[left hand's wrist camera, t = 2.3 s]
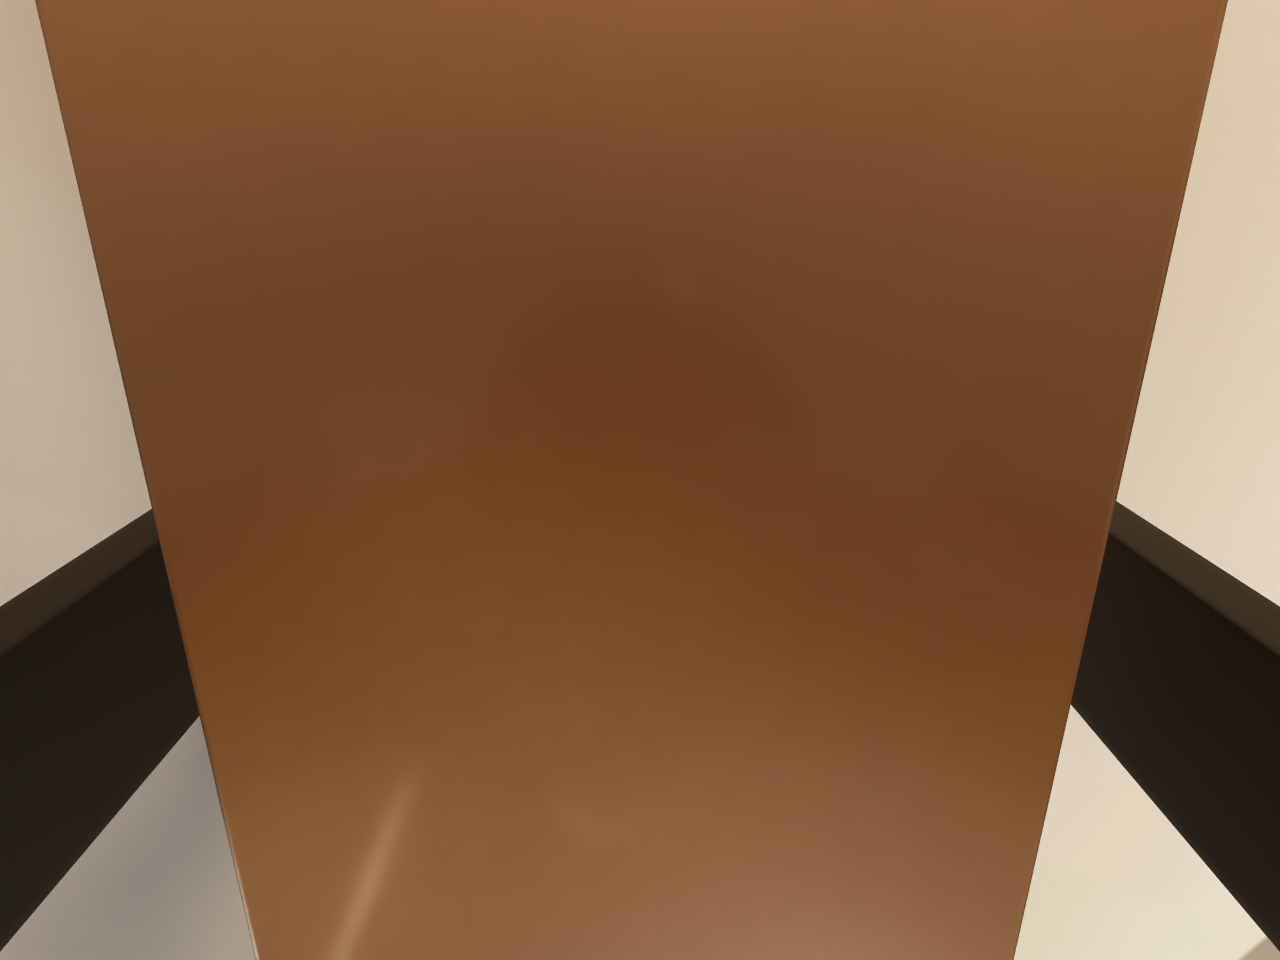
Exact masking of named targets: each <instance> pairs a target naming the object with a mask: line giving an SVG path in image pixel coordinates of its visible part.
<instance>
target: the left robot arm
mask: <svg viewBox="0 0 1280 960" xmlns="http://www.w3.org/2000/svg"><path fill="white" fill-rule="evenodd" d="M1071 705H1072V706H1073V707H1074V708H1075V710H1076V711H1077V712H1078V713H1079V714H1080V716H1081V717H1082V718H1083V719H1084V720H1085V721H1086V723H1087V724H1088V725H1089V726H1090V727H1091V729H1092V730H1093V731H1094V732H1095V733H1096V735H1097V736H1098V737H1099V738H1100V739H1101V740H1102V742H1103V743H1104V744H1105V745H1106V746H1107V748H1108V749H1109V750H1110V751H1111V752H1112V753H1113V755H1114V756H1115V757H1116V758H1117V759H1118V761H1119V762H1120V763H1121V764H1122V765H1123V766H1124V768H1125V769H1126V770H1127V771H1128V772H1129V774H1130V775H1131V776H1132V777H1133V778H1134V779H1135V781H1136V782H1137V783H1138V784H1139V785H1140V787H1141V788H1142V789H1143V790H1144V791H1145V793H1146V794H1147V795H1148V796H1149V797H1150V798H1151V800H1152V801H1153V802H1154V803H1155V804H1156V806H1157V807H1158V808H1159V809H1160V810H1161V811H1162V813H1163V814H1164V815H1165V816H1166V817H1167V819H1168V820H1169V821H1170V822H1171V823H1172V824H1173V826H1174V827H1175V828H1176V829H1177V830H1178V832H1179V833H1180V834H1181V835H1182V836H1183V837H1184V839H1185V840H1186V841H1187V842H1188V843H1189V845H1190V846H1191V847H1192V848H1193V849H1194V851H1195V852H1196V853H1197V854H1198V855H1199V856H1200V858H1201V859H1202V860H1203V861H1204V862H1205V864H1206V865H1207V866H1208V867H1209V868H1210V869H1211V871H1212V872H1213V873H1214V874H1215V875H1216V877H1217V878H1218V879H1219V880H1220V881H1221V882H1222V884H1223V885H1224V886H1225V887H1226V888H1227V890H1228V891H1229V892H1230V893H1231V894H1232V896H1233V897H1234V898H1235V899H1236V900H1237V901H1238V903H1239V904H1240V905H1241V906H1242V907H1243V909H1244V910H1245V911H1246V912H1247V913H1248V914H1249V916H1250V917H1251V918H1252V919H1253V920H1254V922H1255V923H1256V924H1257V925H1258V926H1259V927H1260V929H1261V930H1262V931H1263V932H1264V933H1265V935H1266V936H1267V937H1268V938H1269V939H1270V940H1271V942H1272V943H1273V944H1274V945H1275V946H1276V948H1277V949H1278V950H1279V951H1280V607H1279V606H1278V605H1276V604H1275V603H1273V602H1272V601H1270V600H1269V599H1267V598H1265V597H1264V596H1262V595H1261V594H1259V593H1258V592H1256V591H1255V590H1253V589H1251V588H1250V587H1248V586H1247V585H1245V584H1244V583H1242V582H1241V581H1239V580H1238V579H1236V578H1234V577H1233V576H1231V575H1230V574H1228V573H1227V572H1225V571H1224V570H1222V569H1220V568H1219V567H1217V566H1216V565H1214V564H1213V563H1211V562H1210V561H1208V560H1207V559H1205V558H1203V557H1202V556H1200V555H1199V554H1197V553H1196V552H1194V551H1193V550H1191V549H1189V548H1188V547H1186V546H1185V545H1183V544H1182V543H1180V542H1179V541H1177V540H1176V539H1174V538H1172V537H1171V536H1169V535H1168V534H1166V533H1165V532H1163V531H1162V530H1160V529H1158V528H1157V527H1155V526H1154V525H1152V524H1151V523H1149V522H1148V521H1146V520H1145V519H1143V518H1141V517H1140V516H1138V515H1137V514H1135V513H1134V512H1132V511H1131V510H1129V509H1127V508H1126V507H1124V506H1123V505H1121V504H1120V503H1118V502H1117V501H1116V503H1115V508H1114V512H1113V516H1112V521H1111V525H1110V530H1109V534H1108V539H1107V543H1106V548H1105V552H1104V557H1103V561H1102V566H1101V570H1100V575H1099V579H1098V584H1097V588H1096V592H1095V597H1094V601H1093V606H1092V610H1091V615H1090V619H1089V624H1088V628H1087V633H1086V637H1085V642H1084V646H1083V651H1082V655H1081V660H1080V664H1079V669H1078V673H1077V677H1076V682H1075V686H1074V691H1073V695H1072V700H1071ZM199 716H200V714H199V710H198V705H197V701H196V697H195V692H194V688H193V684H192V679H191V675H190V671H189V666H188V662H187V658H186V653H185V649H184V645H183V640H182V636H181V632H180V627H179V623H178V619H177V614H176V610H175V606H174V601H173V597H172V592H171V588H170V584H169V579H168V575H167V571H166V566H165V562H164V558H163V553H162V549H161V545H160V540H159V536H158V532H157V527H156V523H155V519H154V514H153V510H152V509H151V510H149V511H148V512H146V513H145V514H143V515H142V516H140V517H139V518H137V519H135V520H134V521H132V522H131V523H129V524H128V525H126V526H125V527H123V528H121V529H120V530H118V531H117V532H115V533H114V534H112V535H111V536H109V537H108V538H106V539H104V540H103V541H101V542H100V543H98V544H97V545H95V546H94V547H92V548H90V549H89V550H87V551H86V552H84V553H83V554H81V555H80V556H78V557H77V558H75V559H73V560H72V561H70V562H69V563H67V564H66V565H64V566H63V567H61V568H59V569H58V570H56V571H55V572H53V573H52V574H50V575H49V576H47V577H46V578H44V579H42V580H41V581H39V582H38V583H36V584H35V585H33V586H32V587H30V588H28V589H27V590H25V591H24V592H22V593H21V594H19V595H18V596H16V597H15V598H13V599H11V600H10V601H8V602H7V603H5V604H4V605H2V606H1V607H0V951H1V950H2V949H3V948H4V946H5V945H6V944H7V943H8V942H9V940H10V939H11V938H12V937H13V936H14V935H15V933H16V932H17V931H18V930H19V929H20V927H21V926H22V925H23V924H24V923H25V922H26V920H27V919H28V918H29V917H30V916H31V914H32V913H33V912H34V911H35V910H36V908H37V907H38V906H39V905H40V904H41V903H42V901H43V900H44V899H45V898H46V897H47V895H48V894H49V893H50V892H51V891H52V890H53V888H54V887H55V886H56V885H57V884H58V882H59V881H60V880H61V879H62V878H63V877H64V875H65V874H66V873H67V872H68V871H69V869H70V868H71V867H72V866H73V865H74V864H75V862H76V861H77V860H78V859H79V858H80V856H81V855H82V854H83V853H84V852H85V850H86V849H87V848H88V847H89V846H90V845H91V843H92V842H93V841H94V840H95V839H96V837H97V836H98V835H99V834H100V833H101V832H102V830H103V829H104V828H105V827H106V826H107V824H108V823H109V822H110V821H111V820H112V819H113V817H114V816H115V815H116V814H117V813H118V811H119V810H120V809H121V808H122V807H123V805H124V804H125V803H126V802H127V801H128V800H129V798H130V797H131V796H132V795H133V794H134V792H135V791H136V790H137V789H138V788H139V787H140V785H141V784H142V783H143V782H144V781H145V779H146V778H147V777H148V776H149V775H150V774H151V772H152V771H153V770H154V769H155V768H156V766H157V765H158V764H159V763H160V762H161V761H162V759H163V758H164V757H165V756H166V755H167V753H168V752H169V751H170V750H171V749H172V747H173V746H174V745H175V744H176V743H177V742H178V740H179V739H180V738H181V737H182V736H183V734H184V733H185V732H186V731H187V730H188V729H189V727H190V726H191V725H192V724H193V723H194V721H195V720H196V719H197V718H198V717H199Z"/></svg>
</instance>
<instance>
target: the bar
mask: <svg viewBox="0 0 1280 960" xmlns="http://www.w3.org/2000/svg"><path fill="white" fill-rule="evenodd" d="M35 1H36V6H37V10H38V14H39V19H40V23H41V27H42V32H43V36H44V41H45V45H46V49H47V54H48V58H49V62H50V67H51V71H52V75H53V80H54V84H55V88H56V93H57V97H58V101H59V106H60V110H61V114H62V119H63V123H64V127H65V132H66V136H67V140H68V145H69V149H70V154H71V158H72V162H73V167H74V171H75V175H76V180H77V184H78V188H79V193H80V197H81V201H82V206H83V210H84V214H85V219H86V223H87V227H88V232H89V236H90V240H91V245H92V249H93V253H94V258H95V262H96V267H97V271H98V275H99V280H100V284H101V288H102V293H103V297H104V301H105V306H106V310H107V314H108V319H109V323H110V327H111V332H112V336H113V340H114V345H115V349H116V353H117V358H118V362H119V366H120V371H121V375H122V380H123V384H124V388H125V393H126V397H127V401H128V406H129V410H130V414H131V419H132V423H133V427H134V432H135V436H136V440H137V445H138V449H139V453H140V458H141V462H142V466H143V471H144V475H145V479H146V484H147V488H148V493H149V497H150V501H151V506H152V510H153V514H154V519H155V523H156V527H157V532H158V536H159V540H160V545H161V549H162V553H163V558H164V562H165V566H166V571H167V575H168V579H169V584H170V588H171V592H172V597H173V601H174V606H175V610H176V614H177V619H178V623H179V627H180V632H181V636H182V640H183V645H184V649H185V653H186V658H187V662H188V666H189V671H190V675H191V679H192V684H193V688H194V692H195V697H196V701H197V705H198V710H199V714H200V719H201V723H202V727H203V732H204V736H205V740H206V745H207V749H208V753H209V758H210V762H211V766H212V771H213V775H214V779H215V784H216V788H217V792H218V797H219V801H220V805H221V810H222V814H223V818H224V823H225V827H226V832H227V836H228V840H229V845H230V849H231V853H232V858H233V862H234V866H235V871H236V875H237V879H238V884H239V888H240V892H241V897H242V901H243V905H244V910H245V914H246V918H247V923H248V927H249V931H250V936H251V940H252V945H253V949H254V953H255V958H256V960H1013V959H1014V955H1015V950H1016V946H1017V941H1018V937H1019V932H1020V928H1021V923H1022V919H1023V915H1024V910H1025V906H1026V901H1027V897H1028V892H1029V888H1030V883H1031V879H1032V874H1033V870H1034V865H1035V861H1036V856H1037V852H1038V847H1039V843H1040V838H1041V834H1042V830H1043V825H1044V821H1045V816H1046V812H1047V807H1048V803H1049V798H1050V794H1051V789H1052V785H1053V780H1054V776H1055V771H1056V767H1057V762H1058V758H1059V753H1060V749H1061V745H1062V740H1063V736H1064V731H1065V727H1066V722H1067V718H1068V713H1069V709H1070V704H1071V700H1072V695H1073V691H1074V686H1075V682H1076V677H1077V673H1078V669H1079V664H1080V660H1081V655H1082V651H1083V646H1084V642H1085V637H1086V633H1087V628H1088V624H1089V619H1090V615H1091V610H1092V606H1093V601H1094V597H1095V592H1096V588H1097V584H1098V579H1099V575H1100V570H1101V566H1102V561H1103V557H1104V552H1105V548H1106V543H1107V539H1108V534H1109V530H1110V525H1111V521H1112V516H1113V512H1114V508H1115V503H1116V499H1117V494H1118V490H1119V485H1120V481H1121V476H1122V472H1123V467H1124V463H1125V458H1126V454H1127V449H1128V445H1129V440H1130V436H1131V431H1132V427H1133V423H1134V418H1135V414H1136V409H1137V405H1138V400H1139V396H1140V391H1141V387H1142V382H1143V378H1144V373H1145V369H1146V364H1147V360H1148V355H1149V351H1150V347H1151V342H1152V338H1153V333H1154V329H1155V324H1156V320H1157V315H1158V311H1159V306H1160V302H1161V297H1162V293H1163V288H1164V284H1165V279H1166V275H1167V270H1168V266H1169V262H1170V257H1171V253H1172V248H1173V244H1174V239H1175V235H1176V230H1177V226H1178V221H1179V217H1180V212H1181V208H1182V203H1183V199H1184V194H1185V190H1186V185H1187V181H1188V177H1189V172H1190V168H1191V163H1192V159H1193V154H1194V150H1195V145H1196V141H1197V136H1198V132H1199V127H1200V123H1201V118H1202V114H1203V109H1204V105H1205V101H1206V96H1207V92H1208V87H1209V83H1210V78H1211V74H1212V69H1213V65H1214V60H1215V56H1216V51H1217V47H1218V42H1219V38H1220V33H1221V29H1222V24H1223V20H1224V16H1225V11H1226V7H1227V2H1228V0H35Z"/></svg>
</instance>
